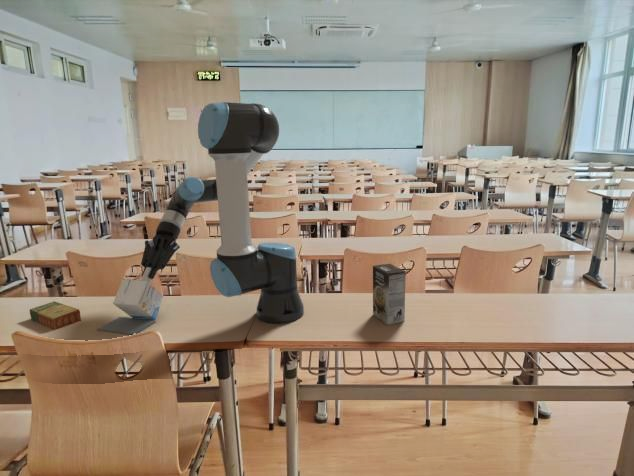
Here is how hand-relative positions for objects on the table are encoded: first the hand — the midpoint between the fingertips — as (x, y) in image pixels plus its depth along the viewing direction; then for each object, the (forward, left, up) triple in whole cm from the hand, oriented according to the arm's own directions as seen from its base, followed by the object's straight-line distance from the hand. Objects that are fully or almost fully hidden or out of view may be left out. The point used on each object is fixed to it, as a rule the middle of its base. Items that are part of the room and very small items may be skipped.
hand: (142, 286), depth 137 cm
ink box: (-1, -1, -7) cm, 7 cm away
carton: (+28, +10, -11) cm, 31 cm away
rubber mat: (+1, +8, -10) cm, 13 cm away
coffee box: (-76, -17, -10) cm, 79 cm away
